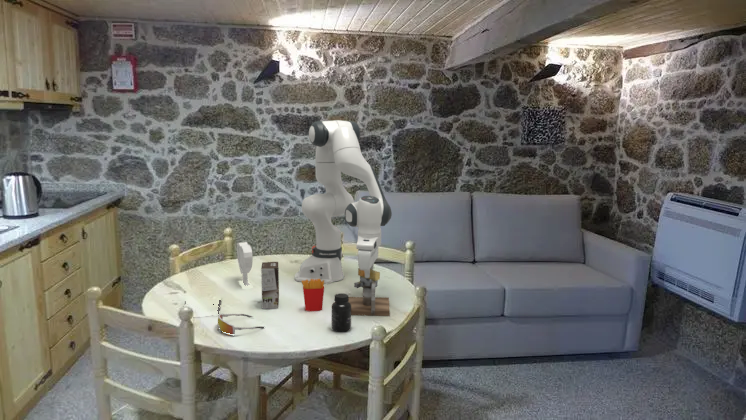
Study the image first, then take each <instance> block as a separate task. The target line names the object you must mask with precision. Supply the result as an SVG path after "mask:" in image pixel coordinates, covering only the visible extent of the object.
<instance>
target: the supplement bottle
mask: <svg viewBox="0 0 746 420" xmlns="http://www.w3.org/2000/svg"><path fill="white" fill-rule="evenodd" d="M349 297H350V296H349V294H347V293H336V294H335V295H334V299H333V300H334V301H333V303H332V305H331V324H330V325H331V329H332V330H333V331H334V332H336V333H337V332H338V333H346V332H349V331H350V330H351V328H352V315H351V304H350V303H349V302H348V301H349Z"/></svg>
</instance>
